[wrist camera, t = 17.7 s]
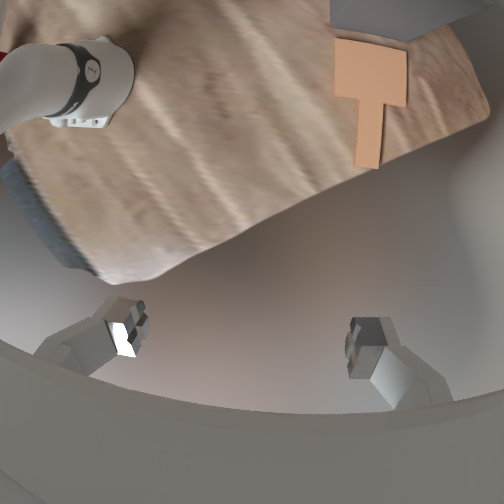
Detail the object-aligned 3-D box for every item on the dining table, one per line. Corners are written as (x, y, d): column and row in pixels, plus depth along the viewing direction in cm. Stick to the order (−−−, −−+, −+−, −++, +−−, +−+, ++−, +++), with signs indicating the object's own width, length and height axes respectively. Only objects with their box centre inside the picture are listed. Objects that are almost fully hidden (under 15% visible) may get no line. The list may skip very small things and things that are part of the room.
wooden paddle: (329, 162, 44) (330, 163, 43) (333, 40, 35) (334, 38, 33) (396, 170, 43) (400, 172, 42) (403, 53, 34) (406, 51, 32)
